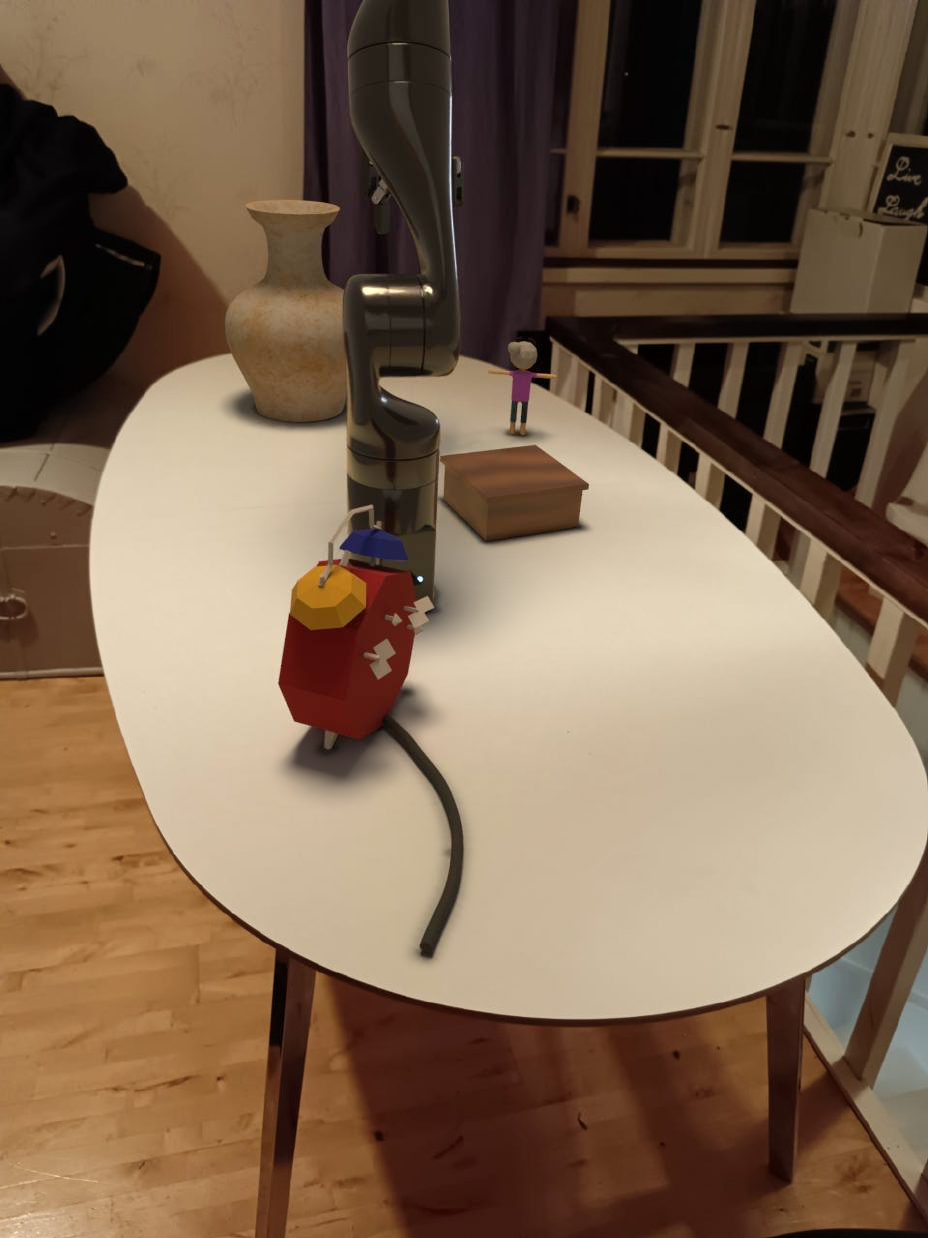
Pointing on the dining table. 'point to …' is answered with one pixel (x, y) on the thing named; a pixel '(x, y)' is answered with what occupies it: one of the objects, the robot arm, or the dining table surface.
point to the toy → (521, 378)
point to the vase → (291, 318)
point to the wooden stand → (512, 491)
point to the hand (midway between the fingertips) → (410, 237)
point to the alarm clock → (350, 635)
